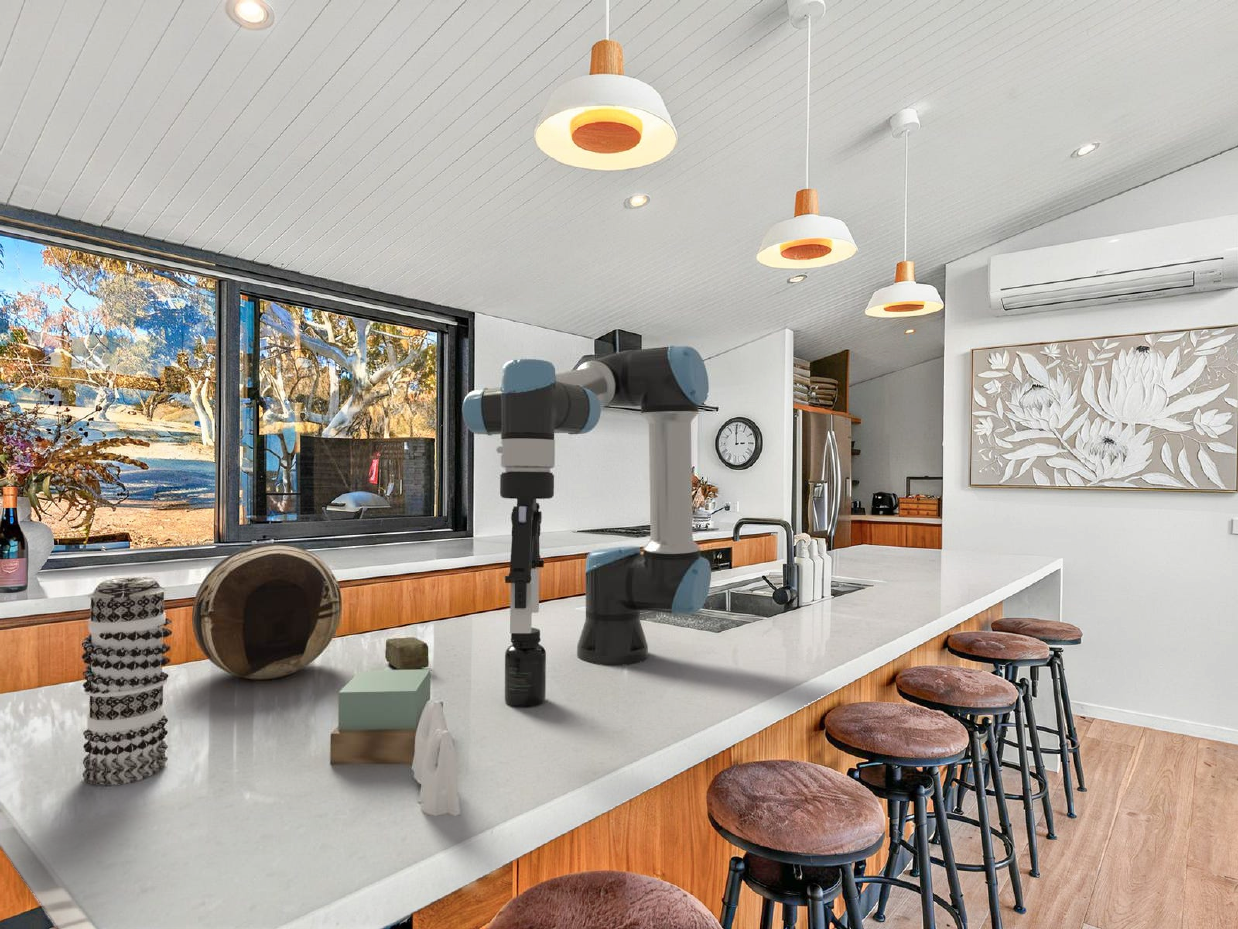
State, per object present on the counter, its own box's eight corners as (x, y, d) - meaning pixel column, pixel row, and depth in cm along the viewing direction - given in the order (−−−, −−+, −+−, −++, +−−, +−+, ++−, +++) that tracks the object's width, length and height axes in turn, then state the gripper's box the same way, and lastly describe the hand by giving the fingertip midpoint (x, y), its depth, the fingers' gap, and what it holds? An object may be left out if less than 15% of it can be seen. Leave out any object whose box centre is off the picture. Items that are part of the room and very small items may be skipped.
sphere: (191, 708, 113) (193, 554, 113) (190, 670, 134) (192, 540, 134) (353, 683, 126) (354, 546, 126) (329, 652, 147) (330, 534, 147)
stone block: (400, 673, 129) (399, 646, 129) (383, 663, 138) (383, 638, 139) (431, 668, 132) (430, 642, 132) (412, 659, 142) (412, 634, 142)
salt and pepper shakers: (410, 781, 87) (411, 693, 87) (444, 775, 88) (445, 689, 88) (423, 827, 76) (424, 725, 76) (462, 819, 77) (463, 720, 77)
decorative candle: (187, 768, 90) (189, 575, 90) (122, 801, 81) (124, 587, 81) (130, 761, 92) (132, 573, 92) (60, 792, 83) (62, 584, 83)
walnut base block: (442, 735, 103) (442, 701, 103) (423, 771, 91) (423, 732, 91) (360, 736, 102) (360, 702, 102) (330, 772, 90) (330, 733, 90)
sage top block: (430, 703, 102) (430, 669, 102) (415, 728, 92) (415, 691, 92) (360, 704, 101) (361, 670, 101) (338, 730, 91) (338, 692, 91)
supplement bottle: (518, 693, 121) (518, 624, 121) (552, 698, 118) (553, 628, 118) (496, 705, 115) (497, 632, 115) (532, 711, 112) (533, 636, 112)
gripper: (510, 470, 110) (508, 605, 109) (487, 469, 85) (485, 643, 84) (557, 471, 110) (556, 605, 110) (549, 469, 85) (546, 643, 85)
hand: (525, 622), depth 97 cm, fingers open, 13 cm apart
